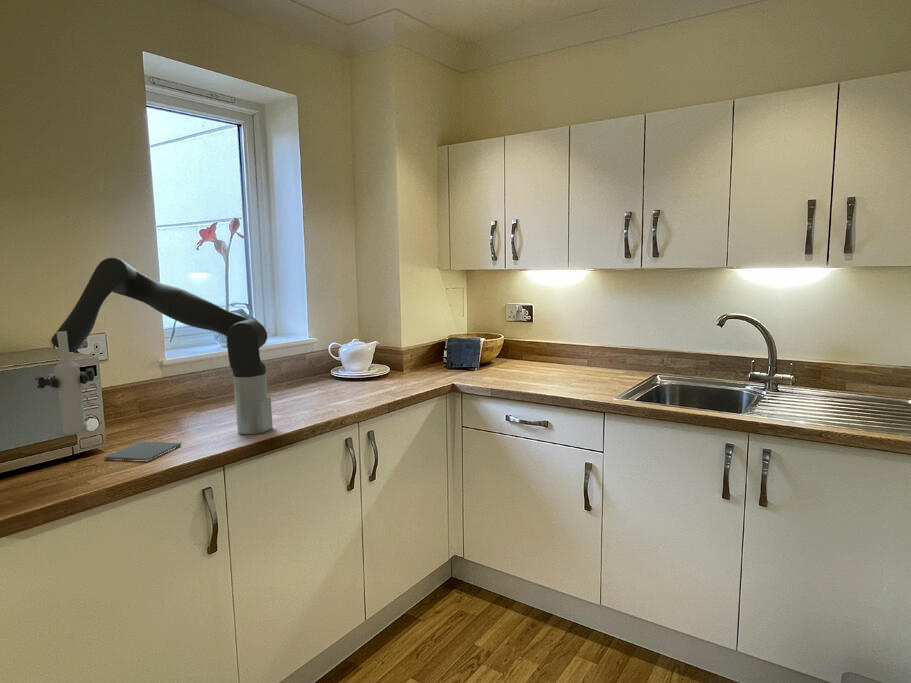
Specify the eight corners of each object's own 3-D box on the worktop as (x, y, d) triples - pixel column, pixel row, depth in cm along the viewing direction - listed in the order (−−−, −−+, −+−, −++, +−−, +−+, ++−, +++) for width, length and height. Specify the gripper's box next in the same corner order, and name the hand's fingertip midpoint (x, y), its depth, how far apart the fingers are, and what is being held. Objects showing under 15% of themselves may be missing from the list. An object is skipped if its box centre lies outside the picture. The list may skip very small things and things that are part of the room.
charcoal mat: (181, 446, 161) (181, 443, 161) (147, 462, 148) (147, 459, 148) (141, 444, 164) (140, 441, 164) (104, 459, 151) (104, 456, 151)
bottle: (92, 428, 145) (78, 330, 142) (79, 434, 140) (65, 332, 137) (71, 429, 145) (57, 330, 142) (58, 435, 140) (43, 333, 136)
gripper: (21, 363, 146) (31, 371, 134) (87, 355, 156) (102, 362, 143) (26, 392, 147) (36, 402, 135) (91, 382, 157) (106, 391, 144)
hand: (70, 381), depth 139 cm, fingers closed on bottle, 5 cm apart
